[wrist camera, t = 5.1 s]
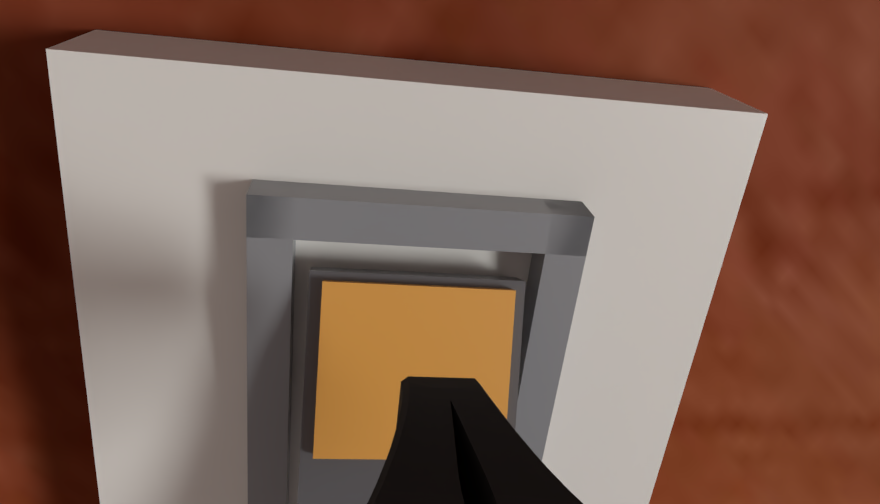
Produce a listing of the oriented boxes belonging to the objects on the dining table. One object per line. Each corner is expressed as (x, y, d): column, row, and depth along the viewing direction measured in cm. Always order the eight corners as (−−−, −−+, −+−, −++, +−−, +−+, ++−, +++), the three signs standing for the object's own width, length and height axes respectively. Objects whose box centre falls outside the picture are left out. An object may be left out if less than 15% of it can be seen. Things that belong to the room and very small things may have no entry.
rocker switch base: (583, 560, 26) (623, 671, 23) (143, 565, 24) (101, 690, 20) (709, 87, 19) (802, 129, 15) (95, 29, 17) (15, 60, 13)
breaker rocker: (488, 663, 18) (499, 699, 17) (290, 669, 17) (286, 707, 16) (515, 276, 17) (528, 282, 16) (311, 266, 17) (308, 271, 15)
